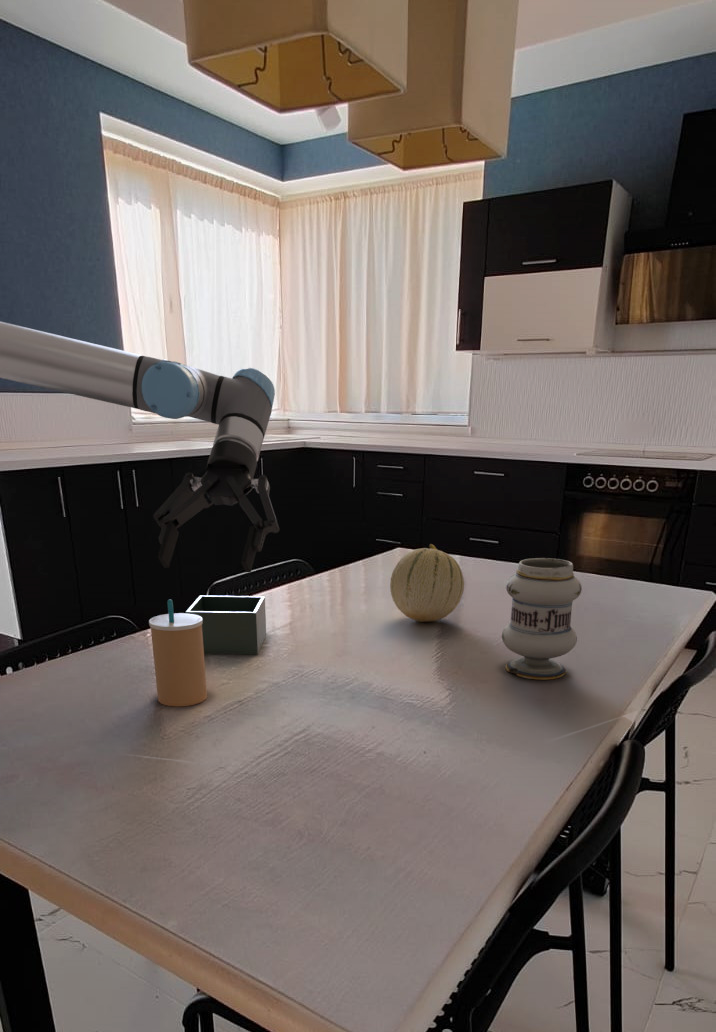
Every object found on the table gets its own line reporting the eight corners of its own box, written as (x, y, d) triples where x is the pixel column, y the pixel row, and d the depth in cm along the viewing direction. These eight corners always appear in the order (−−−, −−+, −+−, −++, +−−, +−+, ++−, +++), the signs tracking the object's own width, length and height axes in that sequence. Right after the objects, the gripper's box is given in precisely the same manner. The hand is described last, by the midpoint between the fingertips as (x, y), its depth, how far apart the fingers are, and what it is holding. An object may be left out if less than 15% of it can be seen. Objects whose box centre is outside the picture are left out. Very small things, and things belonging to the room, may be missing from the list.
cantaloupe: (391, 630, 151) (393, 552, 145) (387, 611, 164) (389, 539, 158) (466, 630, 151) (472, 553, 145) (456, 611, 165) (460, 540, 159)
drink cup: (170, 687, 119) (161, 590, 113) (215, 691, 118) (209, 593, 112) (147, 704, 113) (136, 601, 106) (195, 709, 111) (186, 605, 105)
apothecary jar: (483, 667, 130) (492, 559, 123) (532, 655, 136) (543, 552, 129) (538, 687, 121) (550, 572, 114) (587, 673, 127) (602, 564, 120)
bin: (202, 634, 146) (199, 595, 143) (266, 635, 146) (264, 596, 143) (188, 653, 135) (185, 611, 132) (257, 654, 135) (256, 612, 132)
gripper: (313, 472, 126) (287, 583, 118) (173, 468, 131) (139, 574, 123) (303, 439, 119) (275, 554, 111) (155, 436, 124) (118, 546, 117)
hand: (203, 565), depth 117 cm, fingers open, 13 cm apart
